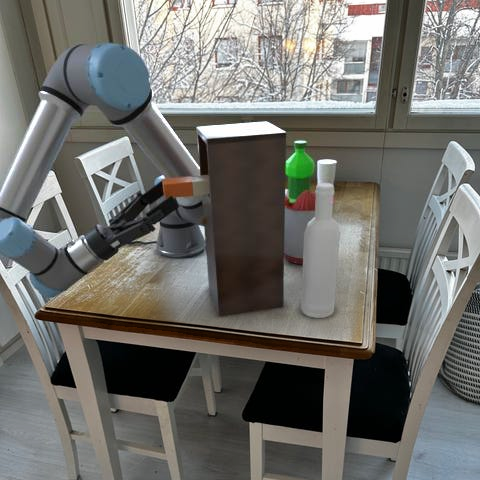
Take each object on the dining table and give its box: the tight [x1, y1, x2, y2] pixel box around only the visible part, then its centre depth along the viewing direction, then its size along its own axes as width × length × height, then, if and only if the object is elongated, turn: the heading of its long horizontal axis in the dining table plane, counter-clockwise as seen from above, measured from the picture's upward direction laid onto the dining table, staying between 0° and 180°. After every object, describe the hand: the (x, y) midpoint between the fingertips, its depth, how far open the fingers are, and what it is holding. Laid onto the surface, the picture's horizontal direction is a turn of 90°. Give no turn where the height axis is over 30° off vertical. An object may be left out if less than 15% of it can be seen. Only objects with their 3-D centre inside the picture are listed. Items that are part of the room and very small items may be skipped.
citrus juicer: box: [284, 190, 336, 265], centre depth 133 cm, size 16×17×20 cm
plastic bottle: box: [286, 140, 316, 203], centre depth 164 cm, size 10×10×25 cm
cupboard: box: [196, 121, 287, 317], centre depth 107 cm, size 17×14×40 cm
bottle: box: [300, 183, 341, 319], centre depth 104 cm, size 8×8×30 cm
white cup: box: [316, 158, 338, 186], centre depth 197 cm, size 8×8×10 cm
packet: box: [162, 175, 210, 199], centre depth 101 cm, size 22×5×3 cm, turn 103°
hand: (172, 191), depth 100 cm, fingers open, 13 cm apart
